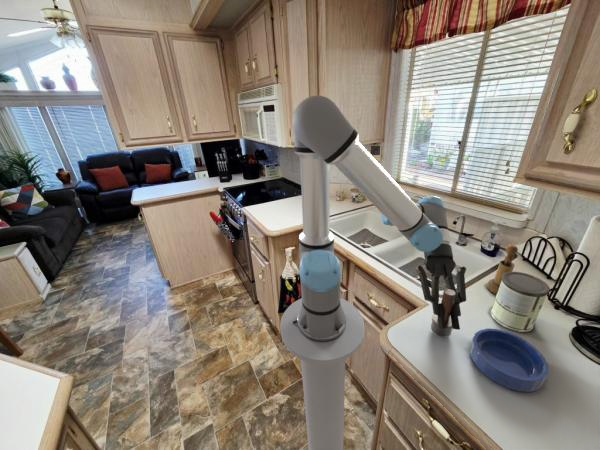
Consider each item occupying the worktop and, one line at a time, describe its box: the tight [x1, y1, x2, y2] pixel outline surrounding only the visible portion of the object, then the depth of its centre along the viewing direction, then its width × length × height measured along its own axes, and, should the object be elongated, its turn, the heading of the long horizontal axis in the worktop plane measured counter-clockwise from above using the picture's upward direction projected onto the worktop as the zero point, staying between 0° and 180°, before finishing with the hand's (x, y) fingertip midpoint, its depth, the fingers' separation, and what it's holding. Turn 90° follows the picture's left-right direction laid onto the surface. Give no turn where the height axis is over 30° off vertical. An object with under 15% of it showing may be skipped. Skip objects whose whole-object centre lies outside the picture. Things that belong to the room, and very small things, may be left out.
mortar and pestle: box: [486, 244, 519, 295], centre depth 85 cm, size 7×6×18 cm
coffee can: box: [490, 271, 551, 333], centre depth 73 cm, size 10×10×14 cm
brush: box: [430, 288, 456, 338], centre depth 70 cm, size 6×6×14 cm
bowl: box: [469, 328, 549, 393], centre depth 62 cm, size 15×15×4 cm
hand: (449, 328), depth 67 cm, fingers closed on brush, 3 cm apart
